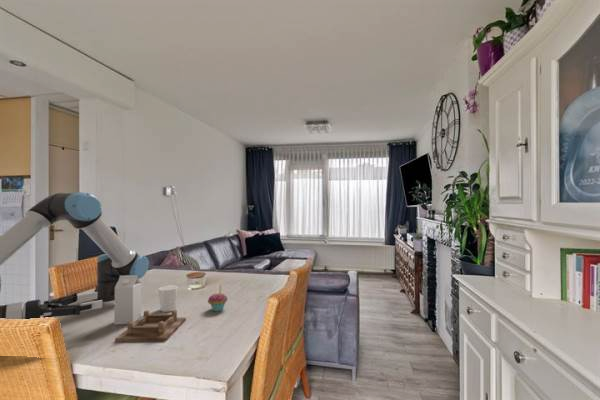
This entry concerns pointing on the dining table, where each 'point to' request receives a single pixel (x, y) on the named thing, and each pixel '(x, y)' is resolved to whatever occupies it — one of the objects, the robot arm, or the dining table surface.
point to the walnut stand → (152, 327)
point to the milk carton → (127, 299)
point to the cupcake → (217, 301)
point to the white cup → (168, 298)
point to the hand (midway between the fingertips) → (99, 299)
